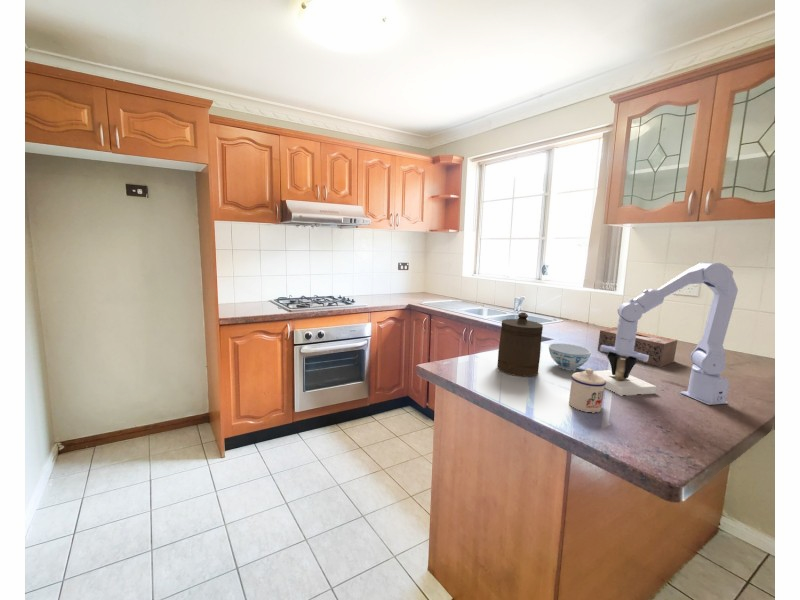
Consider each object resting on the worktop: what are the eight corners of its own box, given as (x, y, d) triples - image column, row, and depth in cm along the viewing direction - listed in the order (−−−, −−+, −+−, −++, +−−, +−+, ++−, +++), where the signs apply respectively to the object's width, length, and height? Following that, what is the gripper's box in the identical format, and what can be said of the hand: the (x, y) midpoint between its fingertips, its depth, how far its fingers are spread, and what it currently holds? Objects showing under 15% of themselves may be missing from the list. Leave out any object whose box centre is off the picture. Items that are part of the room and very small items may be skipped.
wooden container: (529, 364, 148) (535, 309, 145) (544, 377, 134) (551, 317, 130) (492, 362, 148) (497, 308, 144) (503, 376, 133) (509, 316, 130)
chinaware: (597, 372, 142) (600, 353, 141) (567, 376, 137) (569, 355, 135) (566, 360, 156) (569, 342, 155) (538, 362, 150) (540, 344, 149)
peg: (625, 382, 129) (629, 359, 128) (622, 383, 127) (626, 361, 126) (615, 379, 132) (619, 357, 131) (612, 381, 130) (616, 358, 128)
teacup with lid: (589, 416, 104) (595, 376, 103) (561, 403, 112) (565, 366, 110) (614, 408, 110) (619, 370, 109) (585, 396, 118) (590, 361, 116)
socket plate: (655, 393, 124) (656, 386, 123) (620, 395, 120) (621, 388, 120) (616, 376, 139) (617, 369, 139) (585, 377, 136) (585, 371, 135)
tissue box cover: (597, 351, 174) (600, 330, 172) (612, 347, 182) (614, 327, 181) (660, 367, 153) (664, 344, 152) (673, 362, 162) (677, 339, 160)
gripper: (653, 341, 124) (647, 380, 126) (607, 331, 135) (602, 367, 137) (647, 344, 120) (640, 384, 122) (599, 334, 130) (594, 371, 132)
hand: (620, 376), depth 129 cm, fingers closed on peg, 3 cm apart
